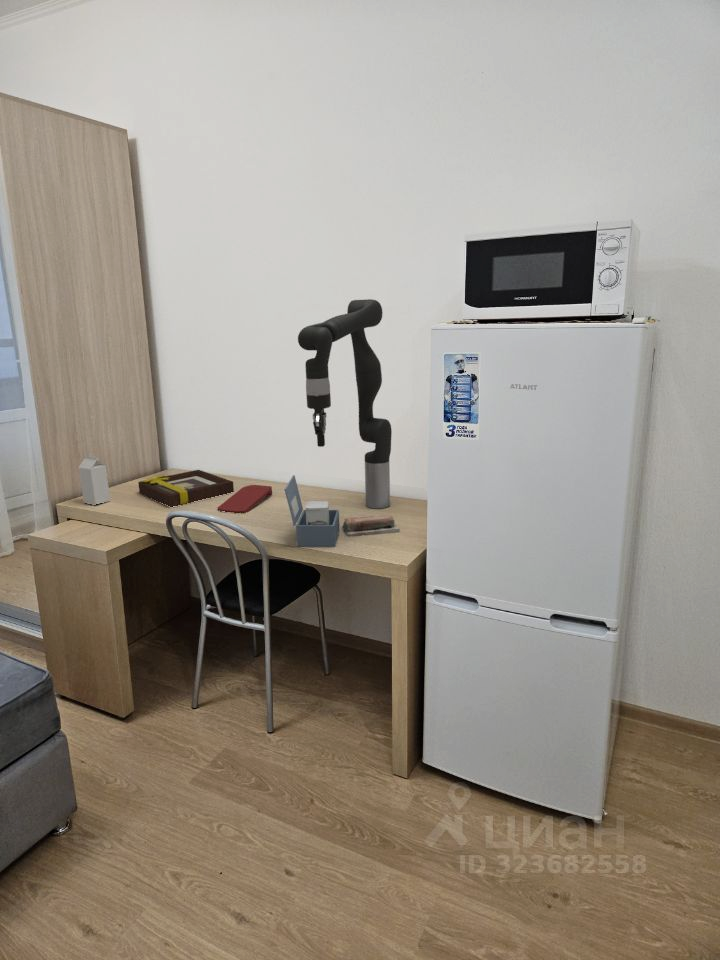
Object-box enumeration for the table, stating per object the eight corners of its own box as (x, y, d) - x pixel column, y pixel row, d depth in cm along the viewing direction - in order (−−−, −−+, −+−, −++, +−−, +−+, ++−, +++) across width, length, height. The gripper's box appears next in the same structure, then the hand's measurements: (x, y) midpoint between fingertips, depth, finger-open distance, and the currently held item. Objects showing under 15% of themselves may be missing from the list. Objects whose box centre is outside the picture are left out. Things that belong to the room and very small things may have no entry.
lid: (303, 509, 216) (301, 509, 216) (294, 475, 213) (293, 475, 213) (295, 525, 200) (293, 525, 200) (286, 488, 197) (284, 489, 197)
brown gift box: (169, 492, 243) (136, 478, 264) (171, 509, 245) (138, 493, 266) (233, 478, 261) (197, 466, 282) (234, 494, 263) (199, 480, 284)
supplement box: (306, 545, 203) (304, 507, 200) (307, 537, 210) (306, 500, 207) (329, 544, 203) (328, 507, 200) (330, 536, 210) (328, 500, 207)
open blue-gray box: (304, 529, 218) (303, 509, 216) (339, 529, 217) (338, 509, 215) (297, 546, 202) (296, 525, 200) (334, 546, 201) (334, 525, 200)
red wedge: (245, 523, 237) (277, 495, 258) (243, 512, 235) (275, 484, 256) (217, 520, 241) (251, 492, 262) (215, 509, 239) (249, 482, 260)
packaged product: (346, 524, 208) (341, 515, 218) (347, 538, 209) (341, 528, 219) (400, 519, 212) (392, 510, 221) (400, 533, 213) (392, 523, 222)
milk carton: (95, 506, 249) (89, 459, 244) (83, 504, 253) (76, 457, 248) (110, 501, 255) (104, 455, 250) (98, 499, 259) (92, 453, 254)
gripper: (309, 389, 207) (312, 441, 212) (303, 396, 194) (306, 451, 199) (332, 388, 206) (335, 441, 211) (327, 395, 193) (330, 450, 198)
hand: (321, 446), depth 205 cm, fingers closed
